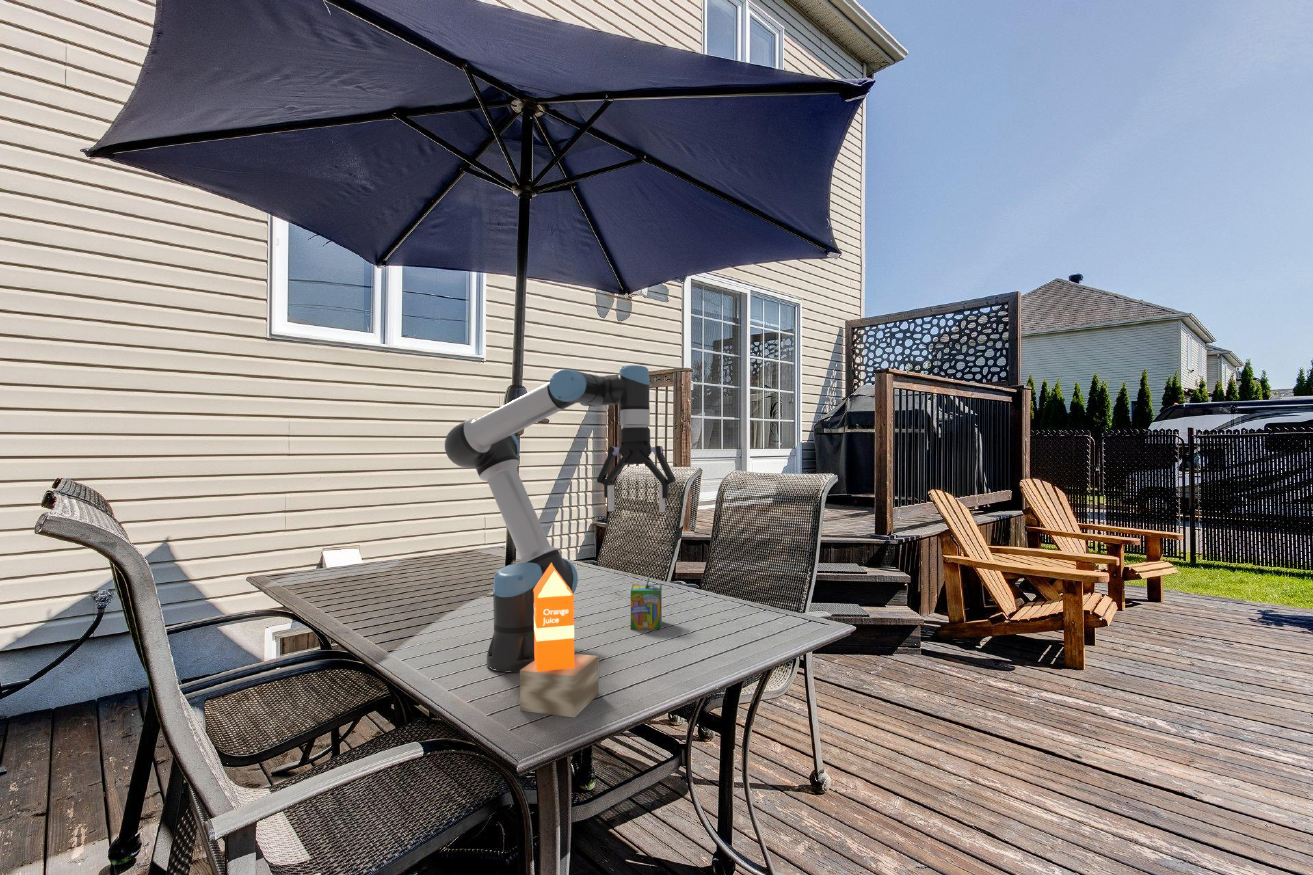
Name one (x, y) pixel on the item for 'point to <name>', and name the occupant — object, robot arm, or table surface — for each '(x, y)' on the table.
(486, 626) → the table surface
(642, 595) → the chalk box
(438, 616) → the table surface
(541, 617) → the orange juice
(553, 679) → the birch block
